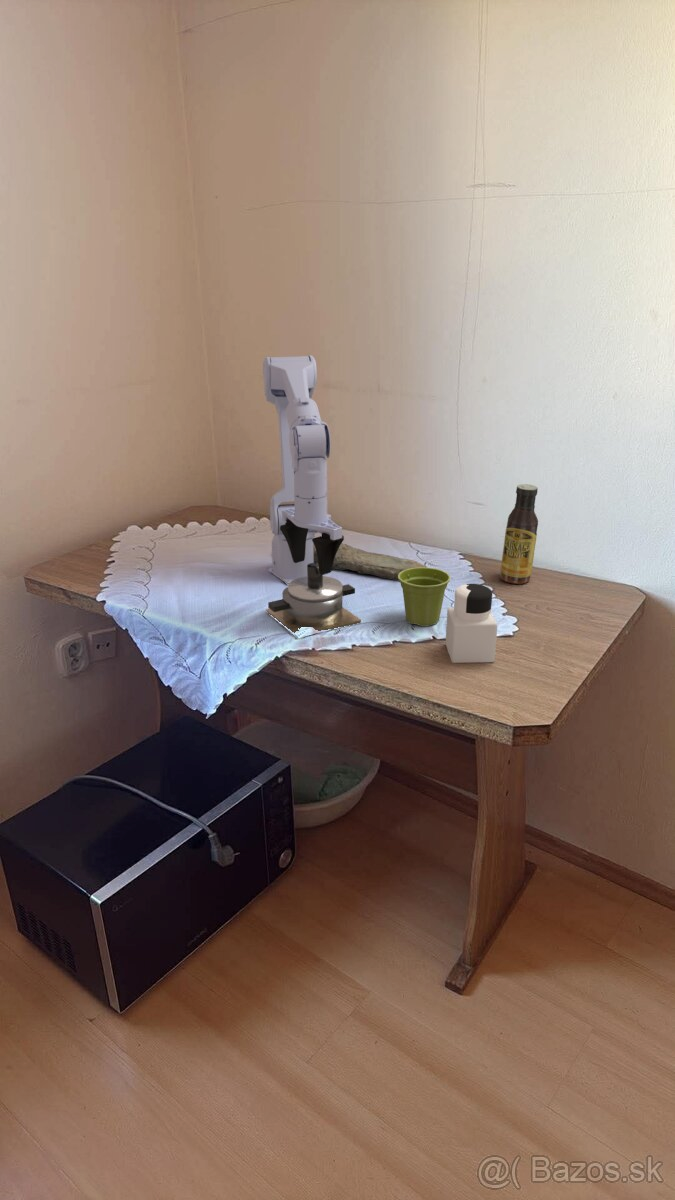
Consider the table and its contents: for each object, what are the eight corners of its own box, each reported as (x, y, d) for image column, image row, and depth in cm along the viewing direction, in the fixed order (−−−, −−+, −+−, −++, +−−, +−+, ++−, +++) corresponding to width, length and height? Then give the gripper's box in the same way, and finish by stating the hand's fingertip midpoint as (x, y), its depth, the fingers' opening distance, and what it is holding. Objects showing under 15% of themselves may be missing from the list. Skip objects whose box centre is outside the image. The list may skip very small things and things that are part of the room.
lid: (277, 591, 148) (276, 564, 145) (318, 577, 154) (317, 551, 152) (312, 607, 141) (311, 580, 139) (353, 592, 147) (353, 566, 145)
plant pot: (388, 613, 150) (389, 570, 147) (433, 606, 153) (435, 564, 150) (410, 634, 142) (411, 589, 139) (457, 626, 145) (459, 581, 142)
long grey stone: (417, 595, 162) (434, 581, 171) (420, 571, 160) (437, 557, 169) (269, 559, 176) (292, 547, 184) (270, 536, 174) (293, 525, 182)
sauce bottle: (496, 582, 164) (503, 488, 156) (505, 572, 169) (512, 480, 161) (527, 587, 162) (537, 492, 154) (535, 577, 167) (545, 484, 159)
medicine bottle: (486, 643, 139) (491, 579, 134) (494, 663, 132) (500, 596, 128) (445, 644, 139) (448, 580, 134) (451, 663, 132) (455, 597, 127)
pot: (256, 614, 150) (255, 589, 148) (334, 596, 158) (334, 572, 156) (288, 641, 140) (287, 615, 138) (369, 620, 147) (370, 595, 145)
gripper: (355, 499, 137) (355, 573, 142) (302, 481, 147) (304, 551, 152) (324, 507, 132) (324, 583, 138) (271, 488, 143) (274, 560, 148)
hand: (311, 567), depth 145 cm, fingers open, 7 cm apart
